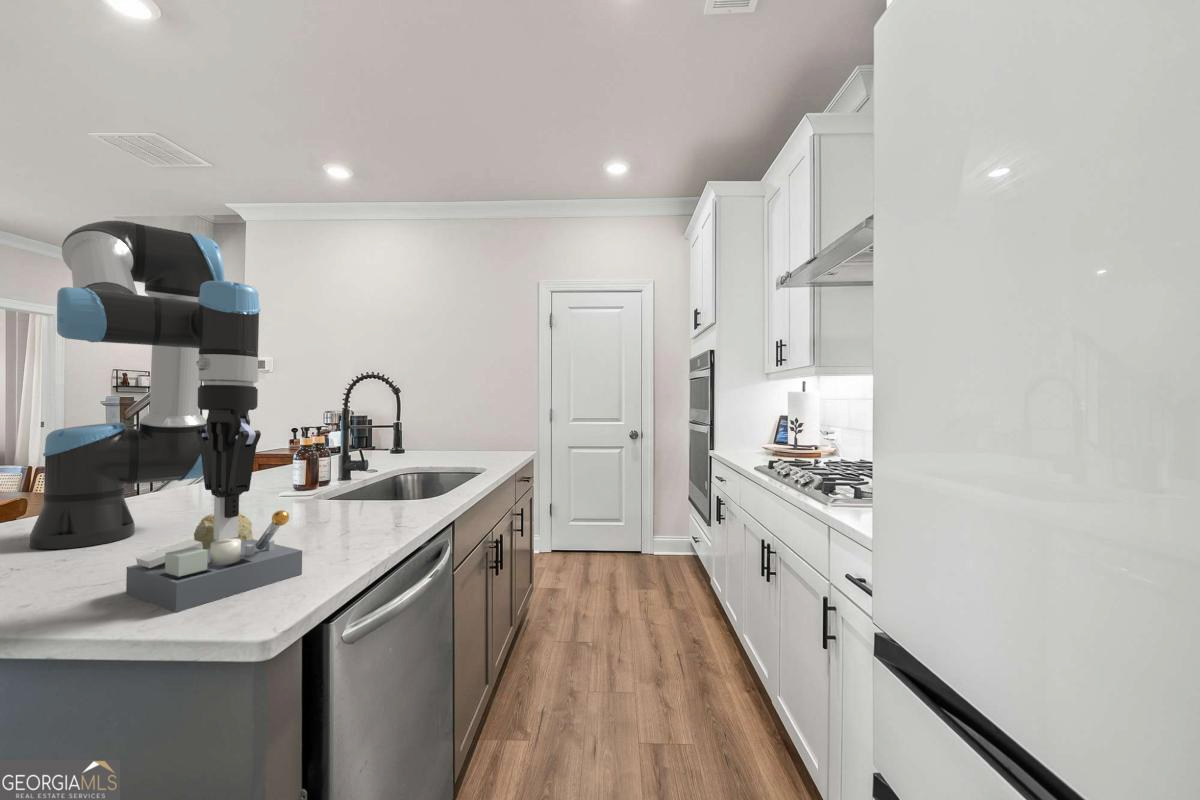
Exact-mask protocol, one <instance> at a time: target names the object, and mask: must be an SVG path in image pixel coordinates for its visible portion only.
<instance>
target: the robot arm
mask: <svg viewBox="0 0 1200 800" xmlns="http://www.w3.org/2000/svg"><path fill="white" fill-rule="evenodd" d="M61 252H62V253H61V254H62V256H61V257H62V259H63V262H64V263H65V266H67V267H68V268H69V270H70V271H71V279H72V286H71V287H70V286H66V287H61V288H59V289H58V291H57V296H56V332H57V334H58V335H59V336H60V337H62V338H63V339H67V340H78V341H86V342H89V343H108V344H109V343H110V344H127V345H128V344H129V345H143V346H144V345H145V346H151V361H150V363H151V365H150V387H149V388H150V391H149V412H148V413H147V414H146V415H144V416H143V417H141V418H140V420H139V424H138V425H139V428H128V429H127V425H126V424H125V422H109V423H97V424H96V423H95V424H89V425H88V424H87V425H79V426H71V427H64V428H59V429H54V430H52V431H51V432H49V433H48V434H47V435H46V438H45V442H44V443H45V444H44V452H43V453H42V456H43V457H44V474H43V475H44V476H43V477H44V480H43V506H42V508H41V510H40V512H39V514H38V517H37V518H36V521H35V523H34V526H33V528H32V530H31V532H30V533H29V534H30V535H29V547H30V548H31V549H38V550H58V549H59V550H60V549H62V550H64V549H75V548H85V547H91V546H96V545H102V544H106V543H107V544H108V543H113V542H117V541H121V540H124V539H126V538H130V537H131V536H134V534H135V528H136V527H135V521H134V518H133V516H132V514H131V511H130V510H129V506H128V505H127V502H126V499H125V486H126V485H133V484H147V483H161V482H162V483H163V482H173V481H177V482H182V481H185V480H186V481H187V480H194V479H199V478H202V477H203V483H204V484H203V485H204V489H205V490H206V491H210V493H211V495H212V496H214V499H213V500H214V502H213V505H214V506H213V513H214V514H213V515H214V540H219V541H220V540H225V539H229V538H234V537H238V526H239V513H240V508H239V506H240V496H241V495H242V494H243V493H246V492H247V493H248V492H249V491H250V487H251V480H252V476H253V469H254V463H255V457H256V452H257V451H256V450H257V446H258V443H259V442H260V439H261V435H262V434H261V431H260V430H258V429H257V430H253V429H252V427H251V419H250V415H249V411H252V410H257V408H258V399H259V398H258V397H259V396H258V395H259V393H258V392H259V389H258V388H257V386H255V384H256V383H257V382H259V333H260V331H259V328H260V327H259V326H260V325H259V324H260V323H259V322H260V312H261V307H260V299H259V292H258V290H257V289H256V287H253V286H251V285H249V284H245V283H242V282H241V283H240V282H236V281H235V282H234V281H227V280H225V266H224V265H225V264H224V260H223V254H222V252H221V249H220V247H219V245H218V244H217V242H216V241H215V240H213V239H211V238H210V237H205V236H201V235H198V234H196V233H195V234H194V233H191V232H184V231H178V230H173V229H168V228H164V227H163V228H162V227H157V226H152V225H145V224H142V223H141V224H140V223H137V222H132V221H127V220H102V221H96V222H91V223H88V224H84V225H82V226H80V227H77V228H76V229H73V230H72V231H71V232H70V233H69V234H68V235H67V236H66V237H65V239H64V240H63V243H62V245H61ZM135 282H136V283H140V284H141V283H143V284H144V294H146V295H141V294H138V291H137V288H136V285H135ZM202 382H203V383H202ZM200 410H202V411H203V410H204V411H208V412H207V416H206V418H205V417H204V416H202V414H201V413H200Z"/></svg>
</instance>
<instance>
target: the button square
mask: <svg viewBox="0 0 1200 800" xmlns="http://www.w3.org/2000/svg"><path fill="white" fill-rule="evenodd" d="M207 558H208V550H204V549H201V548H197V547H191V548H186V549H182V550H177V551H172V552H168V553H165V573H168V574H172V575H175V576H178V577H179V576H183V575H187V574H191V573H195V572H199V571H203V570H207Z"/></svg>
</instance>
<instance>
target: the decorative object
mask: <svg viewBox="0 0 1200 800" xmlns="http://www.w3.org/2000/svg"><path fill="white" fill-rule="evenodd" d="M252 524H253V523H252V521H251V520H250V519H249V517H247V516H246V515H243V514H242V513H241V512H239V526H238V537H234V538H229V539H240V540H241V542H242V541H247V540H251V539H254V538H253V537H254V535H253V529H252V526H253V525H252ZM193 537H194V538H193V540H195V541H199V542H202V545H203V548H202V549H204V550H206V549H210V543H212V542H214V541H217V540H214V514H213V513H211V514H208V515H205V516H204V517H202V519H201V521H200V522H199V523H198V525H197V526H196V528H195V531H194V533H193Z"/></svg>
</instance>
